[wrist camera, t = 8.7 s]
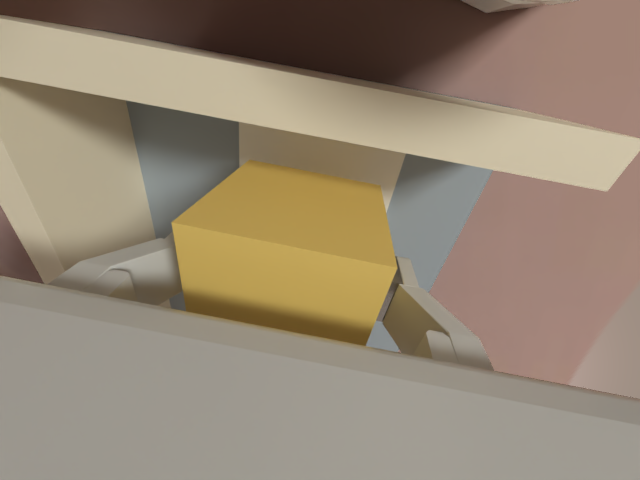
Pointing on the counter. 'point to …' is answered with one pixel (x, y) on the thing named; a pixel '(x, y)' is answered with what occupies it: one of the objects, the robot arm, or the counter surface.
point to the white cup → (510, 4)
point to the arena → (246, 144)
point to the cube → (288, 252)
